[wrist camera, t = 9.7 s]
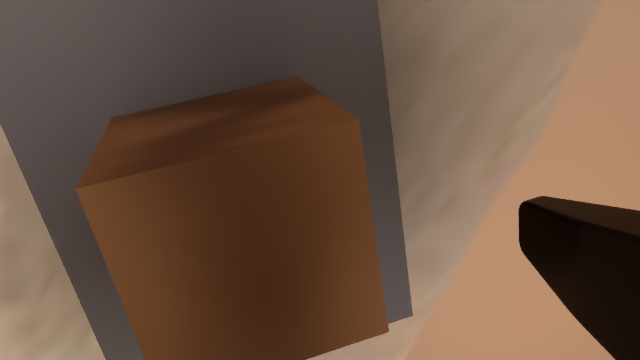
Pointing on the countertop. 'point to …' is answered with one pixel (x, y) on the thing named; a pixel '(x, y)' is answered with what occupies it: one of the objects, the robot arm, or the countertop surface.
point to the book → (174, 87)
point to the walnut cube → (239, 225)
